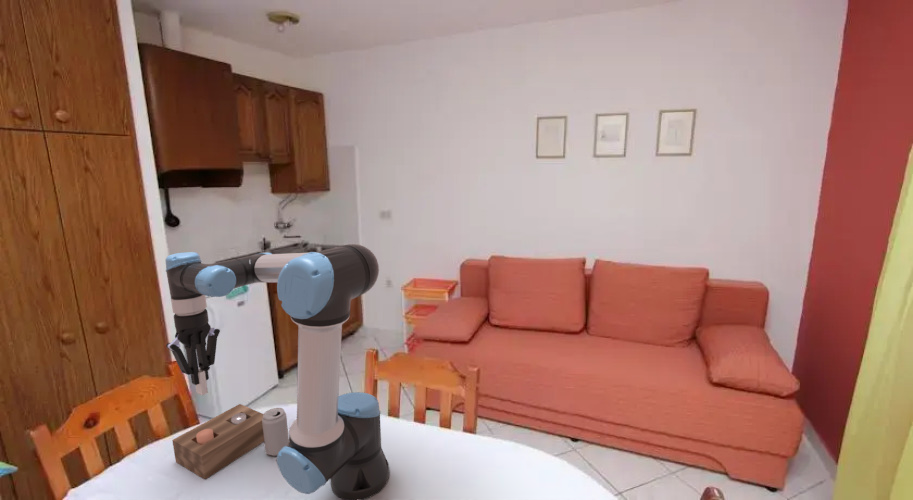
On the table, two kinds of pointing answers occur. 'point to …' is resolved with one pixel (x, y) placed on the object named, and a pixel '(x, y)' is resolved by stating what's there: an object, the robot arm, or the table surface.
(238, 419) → the grey plug
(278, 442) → the beverage can
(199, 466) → the socket board
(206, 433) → the terracotta plug
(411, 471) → the table surface
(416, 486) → the table surface
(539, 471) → the table surface
